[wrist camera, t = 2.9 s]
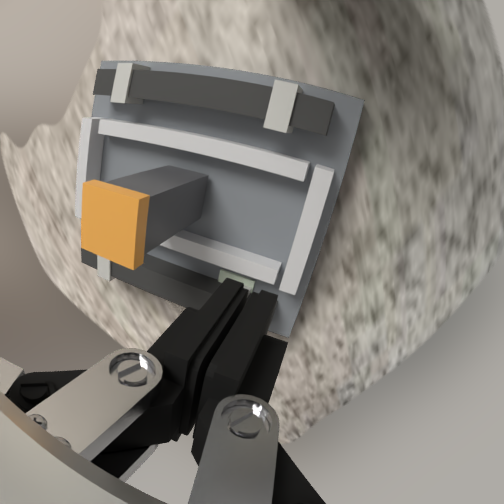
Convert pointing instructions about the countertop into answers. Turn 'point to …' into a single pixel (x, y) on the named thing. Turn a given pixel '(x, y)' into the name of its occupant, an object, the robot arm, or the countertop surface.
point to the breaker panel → (231, 181)
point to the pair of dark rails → (214, 97)
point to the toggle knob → (139, 212)
